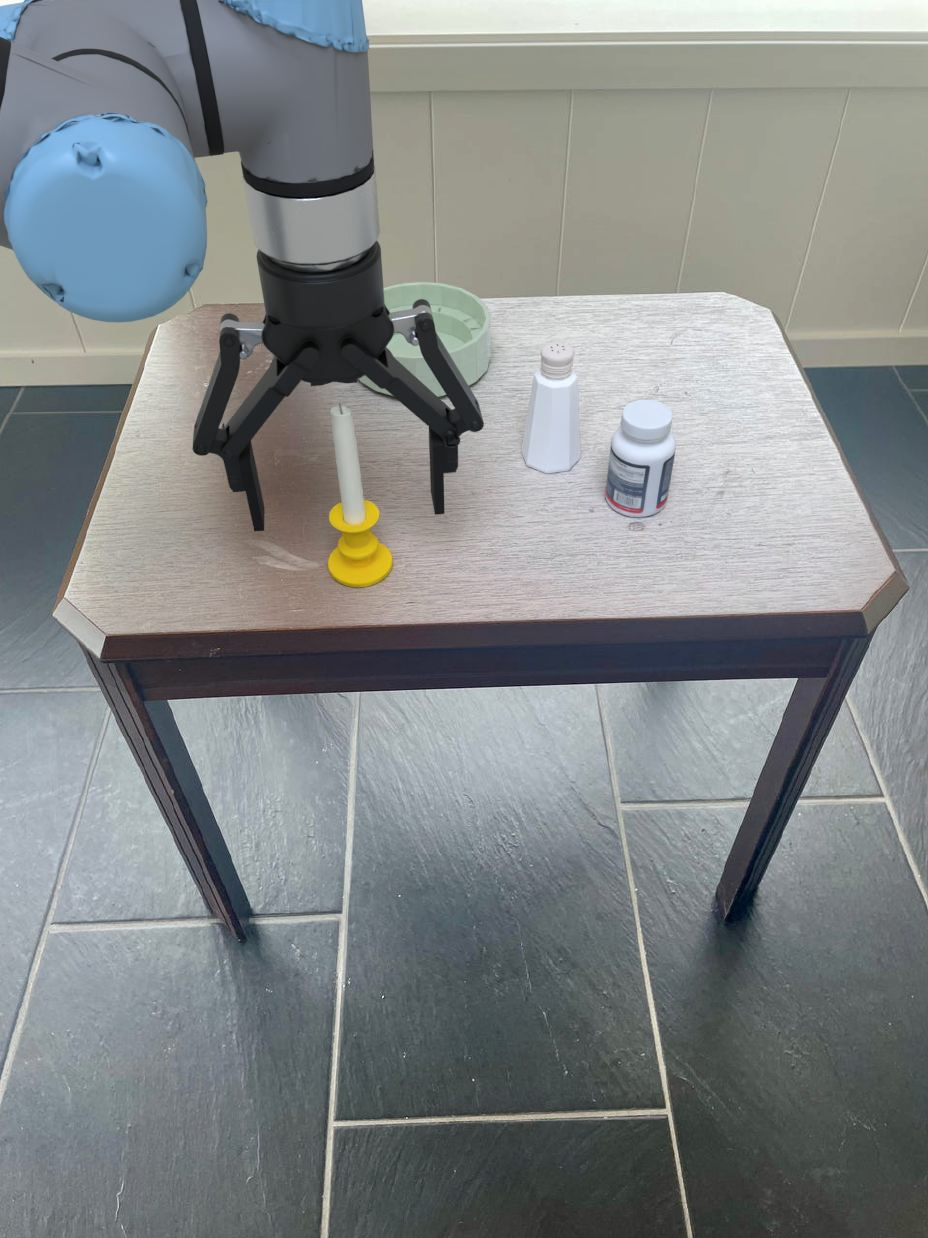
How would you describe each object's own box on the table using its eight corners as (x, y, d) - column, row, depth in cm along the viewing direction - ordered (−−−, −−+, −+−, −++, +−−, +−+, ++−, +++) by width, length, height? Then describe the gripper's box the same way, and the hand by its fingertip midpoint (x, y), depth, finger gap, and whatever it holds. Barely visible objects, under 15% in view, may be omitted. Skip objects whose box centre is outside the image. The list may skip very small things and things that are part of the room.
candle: (354, 534, 80) (333, 373, 69) (405, 557, 78) (392, 396, 67) (315, 572, 77) (286, 410, 66) (367, 597, 75) (346, 434, 64)
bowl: (356, 409, 92) (350, 363, 89) (347, 331, 102) (342, 287, 98) (500, 395, 94) (500, 350, 90) (478, 320, 103) (478, 276, 99)
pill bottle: (650, 474, 85) (663, 388, 79) (677, 511, 82) (693, 424, 75) (594, 487, 84) (604, 401, 78) (619, 524, 81) (632, 438, 74)
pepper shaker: (556, 430, 90) (563, 323, 82) (593, 460, 87) (604, 352, 78) (508, 451, 88) (511, 343, 80) (544, 482, 85) (551, 374, 76)
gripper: (511, 202, 62) (502, 466, 77) (112, 227, 59) (186, 494, 75) (533, 258, 57) (518, 528, 72) (98, 288, 54) (180, 560, 70)
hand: (349, 511), depth 74 cm, fingers open, 13 cm apart
